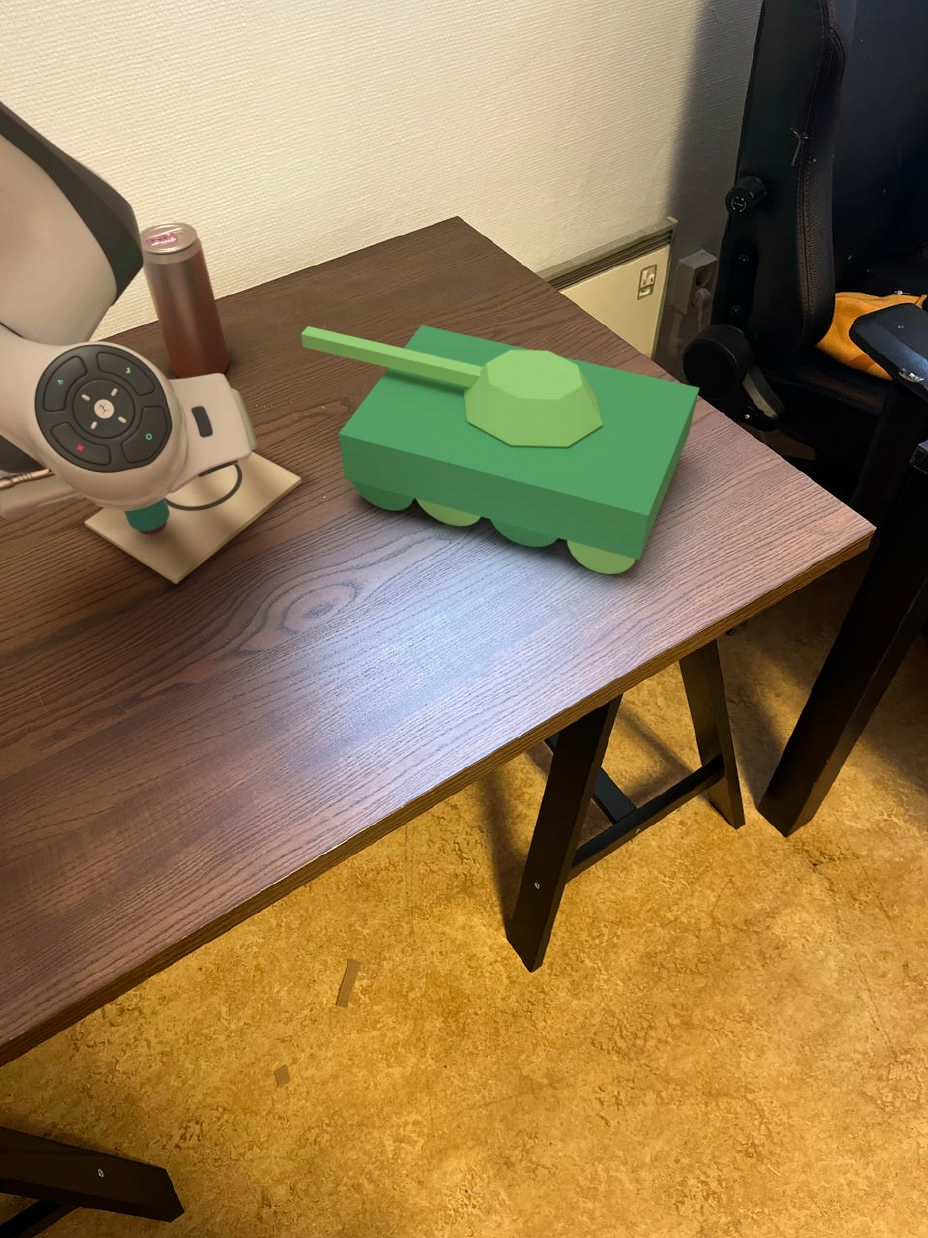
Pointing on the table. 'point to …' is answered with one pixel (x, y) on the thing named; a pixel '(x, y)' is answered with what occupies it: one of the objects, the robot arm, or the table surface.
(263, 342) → the table surface
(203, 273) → the beverage can
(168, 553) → the board
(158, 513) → the dot marker
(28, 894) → the table surface
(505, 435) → the toy tank
